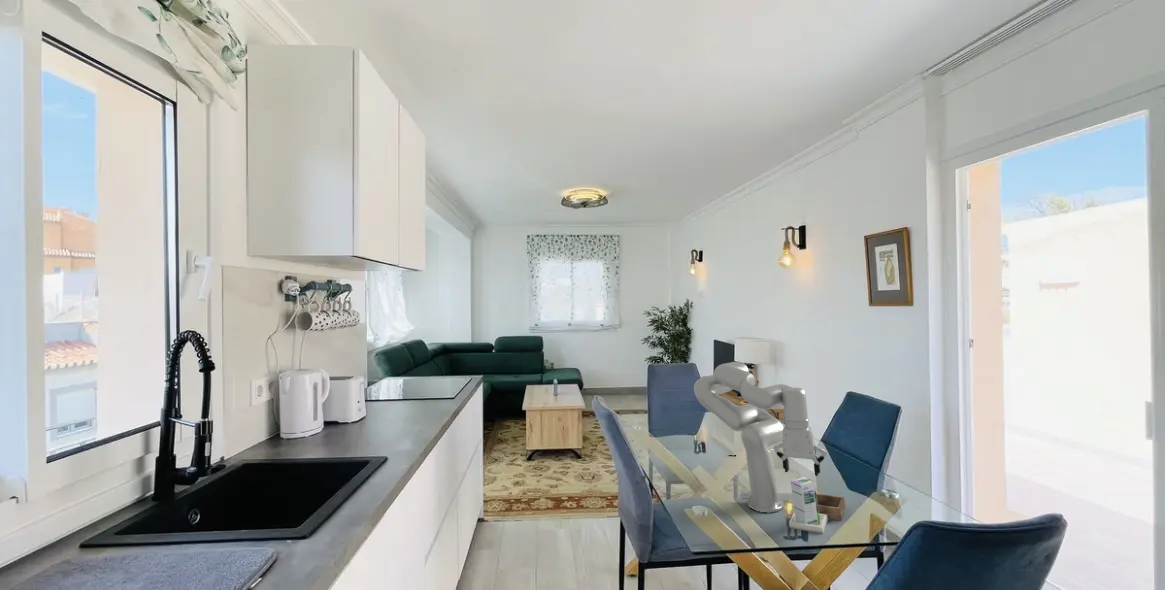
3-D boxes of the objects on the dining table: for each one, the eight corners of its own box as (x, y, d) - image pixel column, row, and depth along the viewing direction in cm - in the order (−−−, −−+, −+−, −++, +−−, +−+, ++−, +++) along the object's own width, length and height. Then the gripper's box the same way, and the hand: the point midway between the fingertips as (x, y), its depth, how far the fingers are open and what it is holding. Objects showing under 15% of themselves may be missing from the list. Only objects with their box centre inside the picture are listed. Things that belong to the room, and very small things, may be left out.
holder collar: (808, 515, 172) (807, 504, 172) (813, 503, 180) (812, 493, 180) (841, 520, 165) (840, 508, 165) (845, 508, 174) (844, 497, 174)
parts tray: (789, 528, 164) (789, 522, 164) (796, 515, 173) (795, 509, 173) (822, 533, 158) (822, 527, 158) (827, 520, 167) (827, 514, 167)
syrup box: (806, 527, 162) (801, 484, 162) (794, 520, 168) (789, 479, 168) (820, 523, 164) (815, 481, 164) (808, 516, 169) (803, 475, 170)
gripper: (768, 425, 168) (773, 473, 168) (822, 428, 158) (827, 480, 158) (773, 419, 174) (778, 466, 174) (825, 422, 164) (830, 472, 164)
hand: (801, 472), depth 166 cm, fingers open, 9 cm apart
